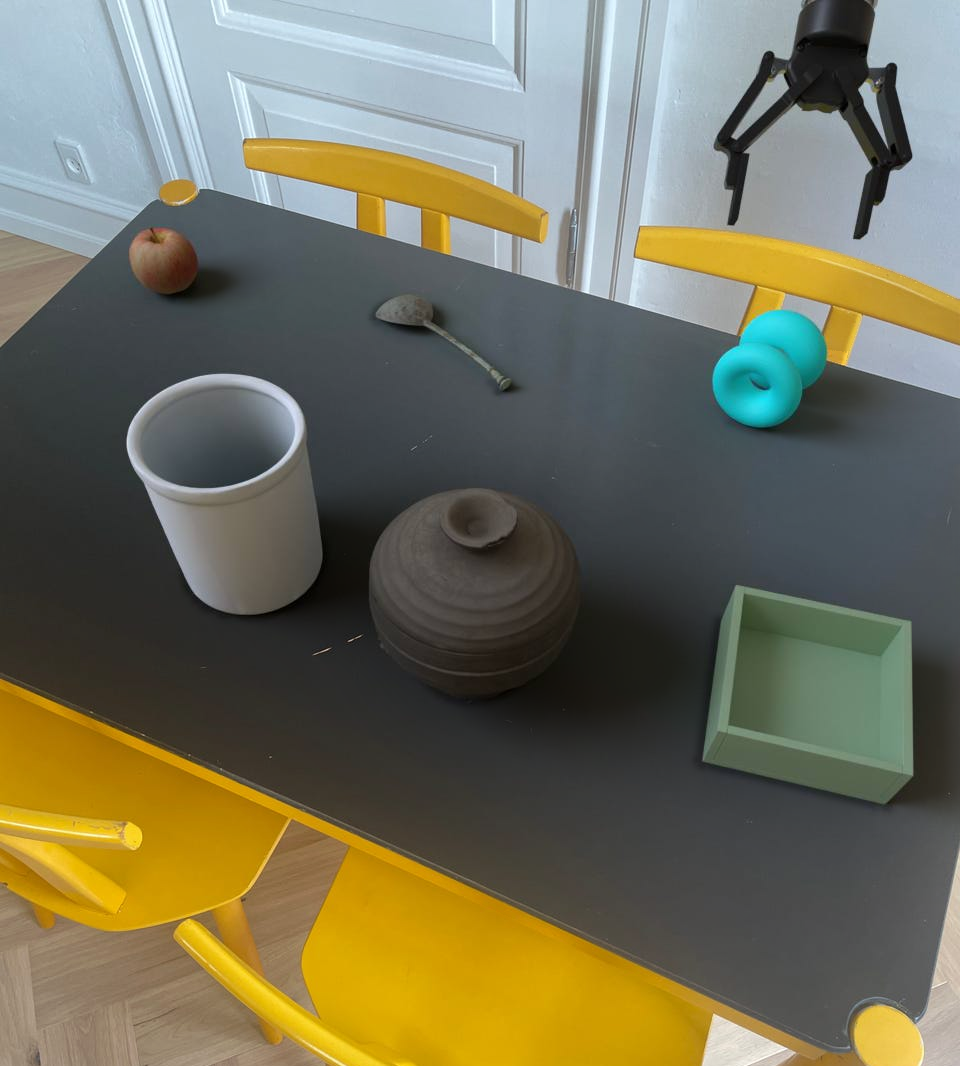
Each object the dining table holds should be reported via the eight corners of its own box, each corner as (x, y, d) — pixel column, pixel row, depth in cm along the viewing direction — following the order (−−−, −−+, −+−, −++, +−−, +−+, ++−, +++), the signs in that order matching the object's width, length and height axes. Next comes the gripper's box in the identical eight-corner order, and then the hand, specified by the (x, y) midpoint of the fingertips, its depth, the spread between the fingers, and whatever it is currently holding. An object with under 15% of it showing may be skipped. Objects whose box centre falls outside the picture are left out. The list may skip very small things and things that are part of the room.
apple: (126, 288, 114) (105, 229, 107) (175, 260, 117) (158, 202, 111) (166, 314, 111) (147, 255, 104) (215, 285, 114) (200, 226, 108)
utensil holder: (241, 486, 95) (200, 351, 80) (358, 538, 91) (338, 406, 77) (150, 582, 88) (87, 452, 73) (273, 642, 84) (233, 518, 69)
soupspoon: (407, 298, 114) (367, 322, 112) (403, 275, 112) (363, 298, 109) (526, 378, 105) (485, 405, 103) (526, 354, 102) (484, 382, 100)
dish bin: (886, 656, 84) (911, 621, 79) (885, 804, 76) (913, 775, 71) (720, 620, 86) (736, 584, 81) (702, 761, 78) (717, 730, 73)
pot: (610, 621, 85) (628, 485, 68) (510, 770, 78) (502, 661, 61) (455, 543, 91) (436, 399, 73) (349, 676, 83) (300, 551, 66)
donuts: (814, 396, 104) (844, 324, 96) (779, 446, 99) (808, 374, 91) (736, 364, 107) (759, 291, 99) (699, 410, 102) (720, 338, 94)
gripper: (946, 39, 94) (901, 250, 98) (710, 17, 96) (676, 225, 100) (977, 2, 87) (927, 233, 91) (721, -20, 89) (684, 206, 93)
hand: (795, 229), depth 96 cm, fingers open, 13 cm apart
